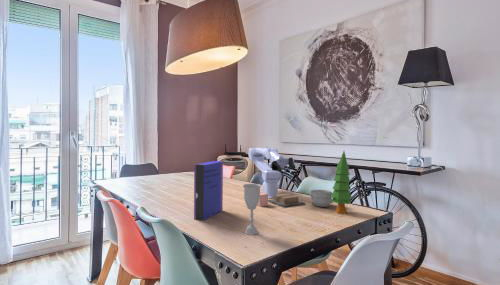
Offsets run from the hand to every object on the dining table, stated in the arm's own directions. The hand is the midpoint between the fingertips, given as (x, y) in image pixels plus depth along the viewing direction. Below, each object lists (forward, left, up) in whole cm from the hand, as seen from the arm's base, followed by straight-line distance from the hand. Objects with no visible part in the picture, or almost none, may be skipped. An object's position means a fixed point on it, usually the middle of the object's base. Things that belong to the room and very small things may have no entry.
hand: (287, 169), depth 157 cm
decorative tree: (+24, +14, -19) cm, 33 cm away
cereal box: (-2, -43, -19) cm, 47 cm away
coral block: (-6, -12, -19) cm, 23 cm away
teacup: (+11, +16, -19) cm, 27 cm away
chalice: (+28, -38, -19) cm, 51 cm away
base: (-3, +2, -19) cm, 19 cm away
